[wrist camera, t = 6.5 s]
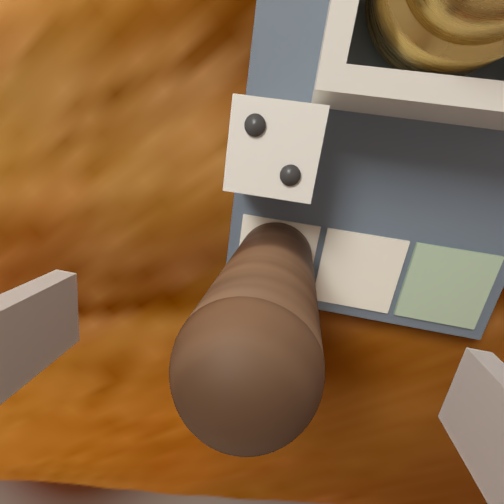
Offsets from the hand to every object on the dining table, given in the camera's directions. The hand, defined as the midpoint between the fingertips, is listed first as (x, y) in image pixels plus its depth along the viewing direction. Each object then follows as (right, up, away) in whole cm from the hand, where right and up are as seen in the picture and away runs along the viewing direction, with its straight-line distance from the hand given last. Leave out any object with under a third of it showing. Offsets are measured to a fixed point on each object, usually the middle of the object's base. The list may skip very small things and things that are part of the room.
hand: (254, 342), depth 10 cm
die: (+1, +9, +6) cm, 11 cm away
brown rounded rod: (+1, +3, +8) cm, 9 cm away
